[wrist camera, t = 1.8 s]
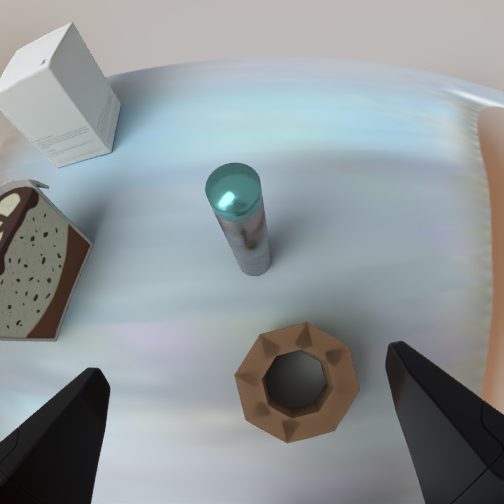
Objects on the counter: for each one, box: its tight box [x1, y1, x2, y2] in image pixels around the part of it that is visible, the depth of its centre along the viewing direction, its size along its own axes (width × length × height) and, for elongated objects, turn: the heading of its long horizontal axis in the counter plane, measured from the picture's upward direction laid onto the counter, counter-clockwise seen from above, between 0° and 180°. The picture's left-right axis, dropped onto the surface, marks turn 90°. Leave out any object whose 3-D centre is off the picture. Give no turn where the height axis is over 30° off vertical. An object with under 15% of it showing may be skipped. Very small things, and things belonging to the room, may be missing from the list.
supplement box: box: [0, 22, 121, 168], centre depth 25 cm, size 7×7×13 cm
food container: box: [0, 179, 94, 341], centre depth 21 cm, size 12×6×10 cm, turn 160°
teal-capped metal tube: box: [205, 163, 271, 276], centre depth 19 cm, size 2×2×11 cm
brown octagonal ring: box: [235, 322, 360, 443], centre depth 20 cm, size 7×7×4 cm
